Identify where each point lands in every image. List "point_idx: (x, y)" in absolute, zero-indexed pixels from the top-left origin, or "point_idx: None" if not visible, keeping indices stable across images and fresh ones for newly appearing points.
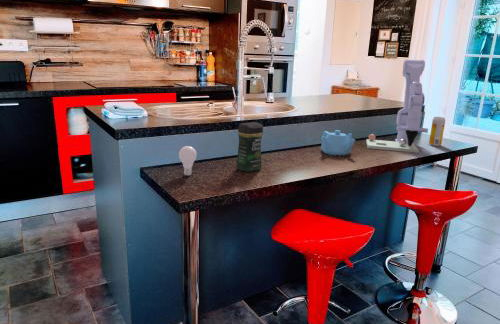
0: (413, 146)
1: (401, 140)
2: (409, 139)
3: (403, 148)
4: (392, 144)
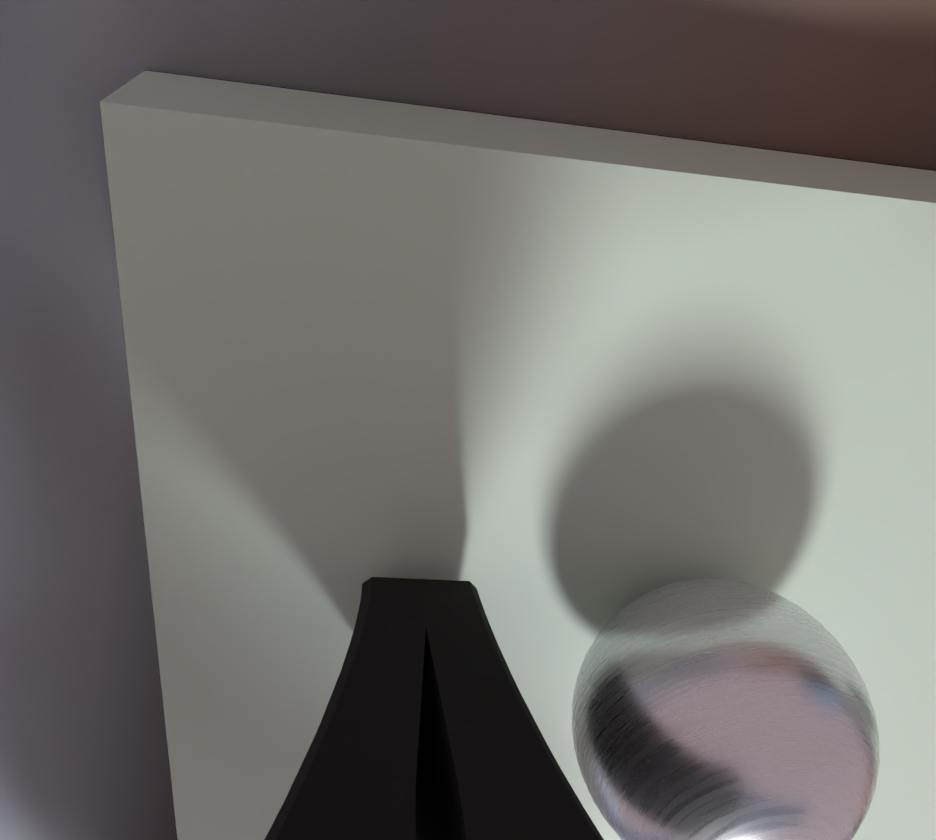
0: (259, 643)
1: (852, 762)
2: (533, 817)
3: (833, 190)
4: (917, 693)
